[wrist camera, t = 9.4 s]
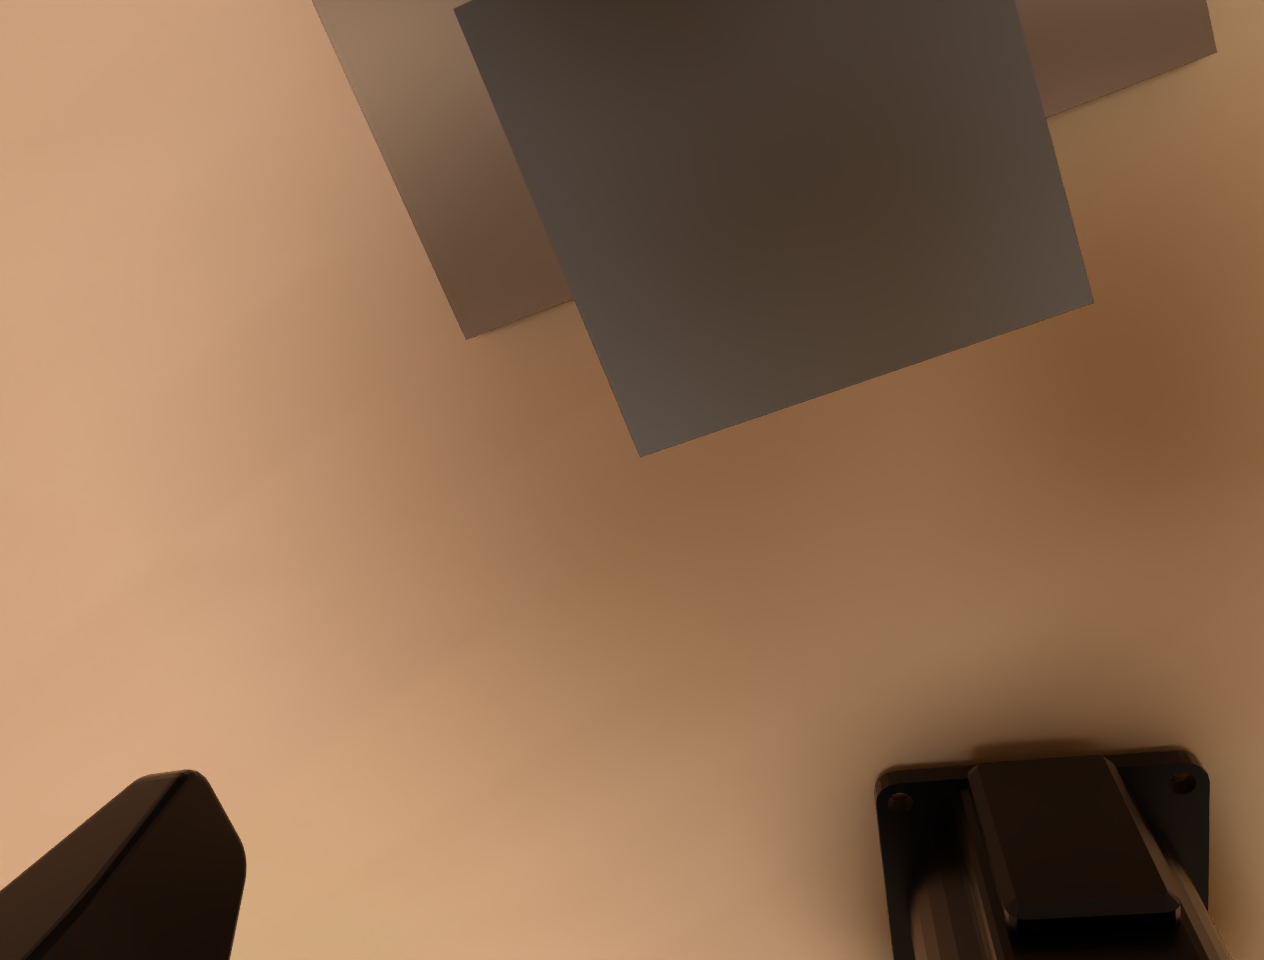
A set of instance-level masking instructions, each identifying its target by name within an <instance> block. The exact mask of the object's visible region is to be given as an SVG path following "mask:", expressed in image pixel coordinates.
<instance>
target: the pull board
mask: <svg viewBox="0 0 1264 960" xmlns="http://www.w3.org/2000/svg"><path fill="white" fill-rule="evenodd" d="M312 2H313V4H314V7H315V9H316V11H317V13H318V15H319V18H320V20H321V22H322V24H323V26H324V29H325V31H326V33H327V35H328V37H329V40H330V42H331V44H332V46H333V48H334V51H335V53H336V55H337V57H338V59H339V62H340V64H341V66H342V68H343V70H344V73H345V75H346V77H347V79H348V81H349V84H350V86H351V88H352V90H353V92H354V95H355V97H356V99H357V101H358V103H359V105H360V108H361V110H362V112H363V114H364V116H365V119H366V121H367V123H368V125H369V127H370V130H371V132H372V134H373V136H374V138H375V141H376V143H377V145H378V147H379V149H380V152H381V154H382V156H383V158H384V160H385V163H386V165H387V167H388V169H389V171H390V174H391V176H392V178H393V180H394V182H395V185H396V187H397V189H398V191H399V193H400V196H401V198H402V200H403V202H404V204H405V207H406V209H407V211H408V213H409V215H410V218H411V220H412V222H413V224H414V226H415V229H416V231H417V233H418V235H419V237H420V240H421V242H422V244H423V246H424V248H425V251H426V253H427V255H428V257H429V259H430V262H431V264H432V266H433V268H434V270H435V273H436V275H437V277H438V279H439V281H440V284H441V286H442V288H443V290H444V292H445V295H446V297H447V299H448V301H449V303H450V306H451V308H452V310H453V312H454V314H455V317H456V319H457V321H458V323H459V325H460V328H461V330H462V332H463V334H464V336H465V339H466V340H467V339H470V338H472V337H475V336H478V335H480V334H483V333H485V332H488V331H491V330H493V329H496V328H499V327H501V326H504V325H506V324H509V323H512V322H514V321H517V320H519V319H522V318H525V317H527V316H530V315H532V314H535V313H538V312H540V311H543V310H546V309H548V308H551V307H553V306H556V305H559V304H561V303H564V302H566V301H569V300H572V299H574V300H575V303H576V305H577V307H578V310H579V312H580V315H581V317H582V319H583V322H584V324H585V326H586V329H587V331H588V334H589V336H590V338H591V341H592V343H593V346H594V348H595V350H596V353H597V355H598V358H599V360H600V362H601V365H602V367H603V370H604V372H605V374H606V377H607V379H608V382H609V384H610V386H611V389H612V391H613V394H614V396H615V398H616V401H617V403H618V406H619V408H620V410H621V413H622V415H623V418H624V420H625V422H626V425H627V427H628V430H629V432H630V434H631V437H632V439H633V442H634V444H635V446H636V449H637V451H638V454H639V456H640V457H643V456H646V455H648V454H651V453H654V452H657V451H660V450H663V449H666V448H669V447H672V446H675V445H678V444H681V443H684V442H687V441H690V440H693V439H696V438H698V437H701V436H704V435H707V434H710V433H713V432H716V431H719V430H722V429H725V428H728V427H731V426H734V425H737V424H740V423H743V422H746V421H748V420H751V419H754V418H757V417H760V416H763V415H766V414H769V413H772V412H775V411H778V410H781V409H784V408H787V407H790V406H793V405H796V404H798V403H801V402H804V401H807V400H810V399H813V398H816V397H819V396H822V395H825V394H828V393H831V392H834V391H837V390H840V389H843V388H846V387H848V386H851V385H854V384H857V383H860V382H863V381H866V380H869V379H872V378H875V377H878V376H881V375H884V374H887V373H890V372H893V371H896V370H898V369H901V368H904V367H907V366H910V365H913V364H916V363H919V362H922V361H925V360H928V359H931V358H934V357H937V356H940V355H943V354H946V353H948V352H951V351H954V350H957V349H960V348H963V347H966V346H969V345H972V344H975V343H978V342H981V341H984V340H987V339H990V338H993V337H996V336H998V335H1001V334H1004V333H1007V332H1010V331H1013V330H1016V329H1019V328H1022V327H1025V326H1028V325H1031V324H1034V323H1037V322H1040V321H1043V320H1045V319H1048V318H1051V317H1054V316H1057V315H1060V314H1063V313H1066V312H1069V311H1072V310H1075V309H1078V308H1081V307H1084V306H1087V305H1090V304H1093V303H1094V300H1093V297H1092V293H1091V289H1090V285H1089V281H1088V278H1087V274H1086V270H1085V266H1084V262H1083V259H1082V255H1081V251H1080V247H1079V243H1078V240H1077V236H1076V232H1075V228H1074V224H1073V221H1072V217H1071V213H1070V209H1069V205H1068V201H1067V198H1066V194H1065V190H1064V186H1063V182H1062V179H1061V175H1060V171H1059V167H1058V163H1057V160H1056V156H1055V152H1054V148H1053V144H1052V141H1051V137H1050V133H1049V129H1048V125H1047V122H1046V118H1047V117H1050V116H1052V115H1055V114H1057V113H1060V112H1063V111H1065V110H1068V109H1070V108H1073V107H1076V106H1078V105H1081V104H1083V103H1086V102H1089V101H1091V100H1094V99H1097V98H1099V97H1102V96H1104V95H1107V94H1110V93H1112V92H1115V91H1117V90H1120V89H1123V88H1125V87H1128V86H1130V85H1133V84H1136V83H1138V82H1141V81H1144V80H1146V79H1149V78H1151V77H1154V76H1157V75H1159V74H1162V73H1164V72H1167V71H1170V70H1172V69H1175V68H1177V67H1180V66H1183V65H1185V64H1188V63H1191V62H1193V61H1196V60H1198V59H1201V58H1204V57H1206V56H1209V55H1211V54H1214V53H1217V50H1216V45H1215V41H1214V36H1213V31H1212V26H1211V22H1210V17H1209V12H1208V7H1207V3H1206V0H312Z"/></svg>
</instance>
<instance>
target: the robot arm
mask: <svg viewBox="0 0 1264 960" xmlns="http://www.w3.org/2000/svg"><path fill="white" fill-rule="evenodd" d="M1181 773H1187V774H1188V776H1187V777H1186V778H1185V779H1183V780H1182V781H1178V782H1172V781H1170V780H1171V779H1172V778H1173V777H1174V776H1175V775H1177V774H1181ZM897 793H904V794H907V795H909V797H908V798H906V799H905V800H902V801H895V800H892V799H890V797H891V796H892V795H894V794H897ZM874 795H875V804H876V813H877V821H878V830H879V839H880V847H881V856H882V865H883V873H884V882H885V891H886V899H887V908H888V916H889V925H890V934H891V942H892V951H893V960H1232V958H1231V956H1230V954H1229V953H1228V951H1227V949H1226V947H1225V945H1224V943H1223V941H1222V939H1221V937H1220V935H1219V933H1218V931H1217V929H1216V927H1215V925H1214V923H1213V921H1212V919H1211V917H1210V915H1209V914H1208V876H1209V796H1210V781H1209V777H1208V774H1207V772H1206V770H1205V769H1204V767H1203V765H1202V764H1201V762H1200V761H1199V760H1198V759H1197V758H1196V757H1195V755H1192V754H1190V753H1188V752H1186V751H1165V752H1151V753H1138V754H1124V755H1110V756H1100V755H1094V756H1080V757H1067V758H1053V759H1040V760H1026V761H1013V762H999V763H986V764H979V765H975V766H961V767H947V768H934V769H920V770H907V771H895V772H891V773H887V774H886V775H884V776H882V777H881V778H880V779H879V780H878V782H877V783H876V785H875V790H874ZM245 879H246V856H245V851H244V848H243V844H242V842H241V840H240V838H239V836H238V834H237V832H236V831H235V829H234V827H233V825H232V823H231V821H230V820H229V818H228V816H227V814H226V812H225V811H224V809H223V807H222V805H221V803H220V802H219V800H218V798H217V796H216V794H215V792H214V791H213V789H212V787H211V785H210V783H209V782H208V780H207V779H206V778H205V777H204V776H203V775H202V774H200V773H199V772H197V771H194V770H179V771H171V772H164V773H157V774H150V775H147V776H143V777H141V778H139V779H137V780H136V781H134V782H133V783H132V784H130V785H129V786H128V787H127V788H125V789H124V790H123V791H122V792H121V793H119V794H118V795H117V796H116V797H115V798H113V799H112V800H111V801H110V802H108V803H107V804H106V805H105V806H104V807H102V808H101V809H100V810H99V811H97V812H96V813H95V814H94V815H93V816H91V817H90V818H89V819H88V820H86V821H85V822H84V823H83V824H82V825H80V826H79V827H78V828H77V829H75V830H74V831H73V832H72V833H71V834H69V835H68V836H67V837H66V838H64V839H63V840H62V841H61V842H60V843H58V844H57V845H56V846H55V847H53V848H52V849H51V850H50V851H49V852H47V853H46V854H45V855H44V856H42V857H41V858H40V859H39V860H38V861H36V862H35V863H34V864H33V865H31V866H30V867H29V868H28V869H27V870H25V871H24V872H23V873H22V874H20V875H19V876H18V877H17V878H16V879H14V880H13V881H12V882H11V883H9V884H8V885H7V886H6V887H5V888H3V889H2V890H1V891H0V960H230V956H231V951H232V946H233V941H234V935H235V930H236V925H237V920H238V915H239V910H240V905H241V900H242V895H243V890H244V885H245Z"/></svg>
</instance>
